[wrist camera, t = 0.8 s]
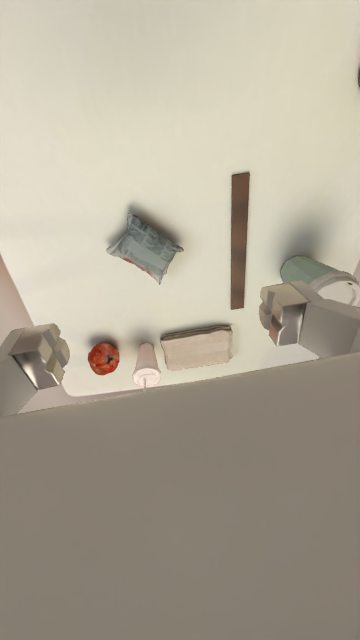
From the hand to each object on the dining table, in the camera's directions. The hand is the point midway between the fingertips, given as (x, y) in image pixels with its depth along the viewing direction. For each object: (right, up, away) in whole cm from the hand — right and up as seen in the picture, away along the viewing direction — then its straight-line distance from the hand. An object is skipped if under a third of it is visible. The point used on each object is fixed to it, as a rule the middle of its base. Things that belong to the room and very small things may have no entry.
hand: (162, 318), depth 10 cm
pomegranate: (-18, -7, +52) cm, 56 cm away
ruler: (+13, +14, +41) cm, 45 cm away
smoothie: (-8, -7, +54) cm, 55 cm away
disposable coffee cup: (+26, +11, +45) cm, 53 cm away
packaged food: (-6, +14, +38) cm, 41 cm away
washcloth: (+5, -7, +55) cm, 56 cm away
